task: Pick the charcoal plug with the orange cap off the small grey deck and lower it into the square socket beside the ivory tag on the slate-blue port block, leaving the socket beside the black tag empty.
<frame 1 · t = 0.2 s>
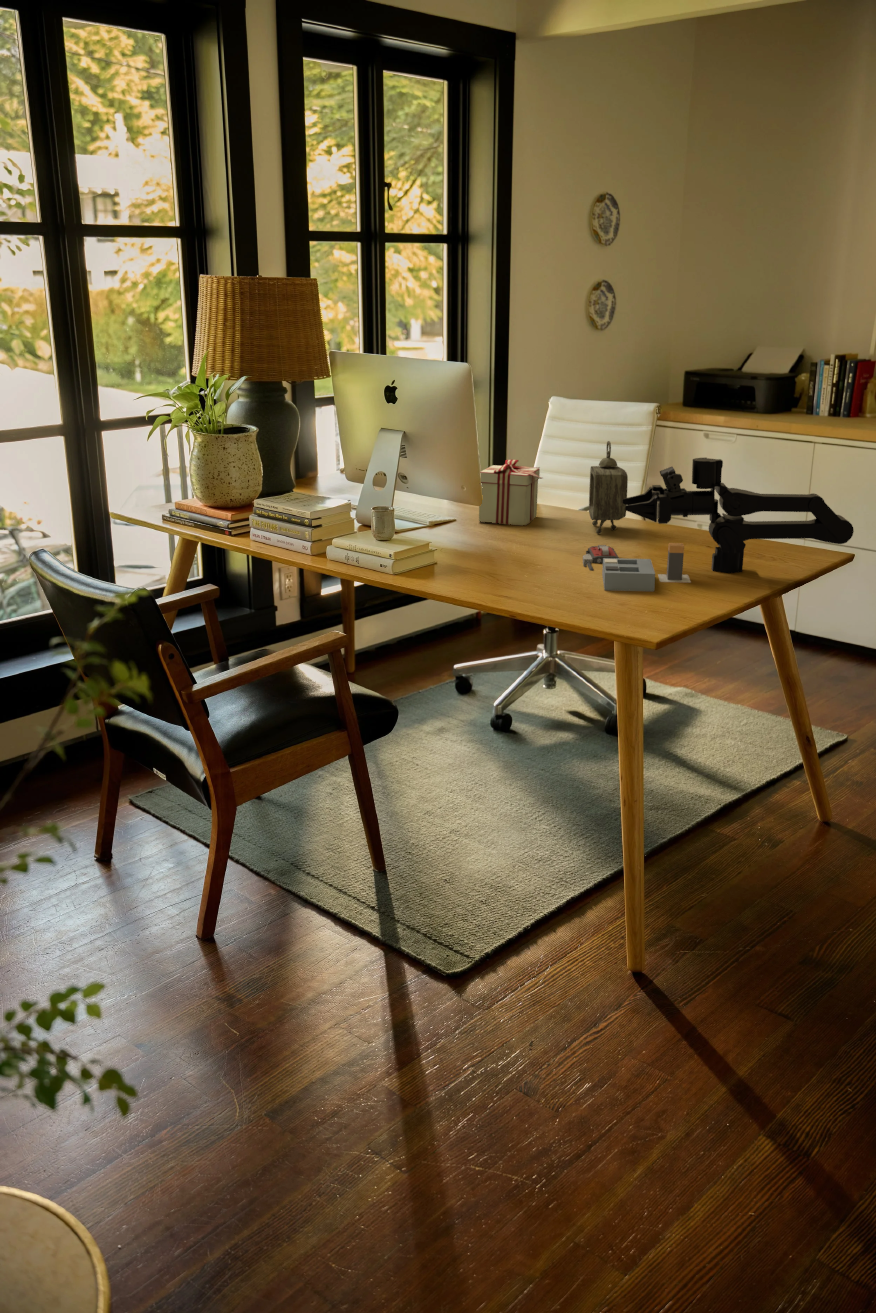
hand: (624, 504, 256), 16 cm above the table, tool horizontal, fingers open, 9 cm apart
plug: (674, 578, 252), point 1 cm above the table, touching deck
port block: (627, 586, 249), on the table
tabletop clock: (606, 531, 307), on the table
red grey elongated piece: (600, 567, 269), on the table
deck: (673, 582, 252), on the table
gift box: (513, 520, 322), on the table
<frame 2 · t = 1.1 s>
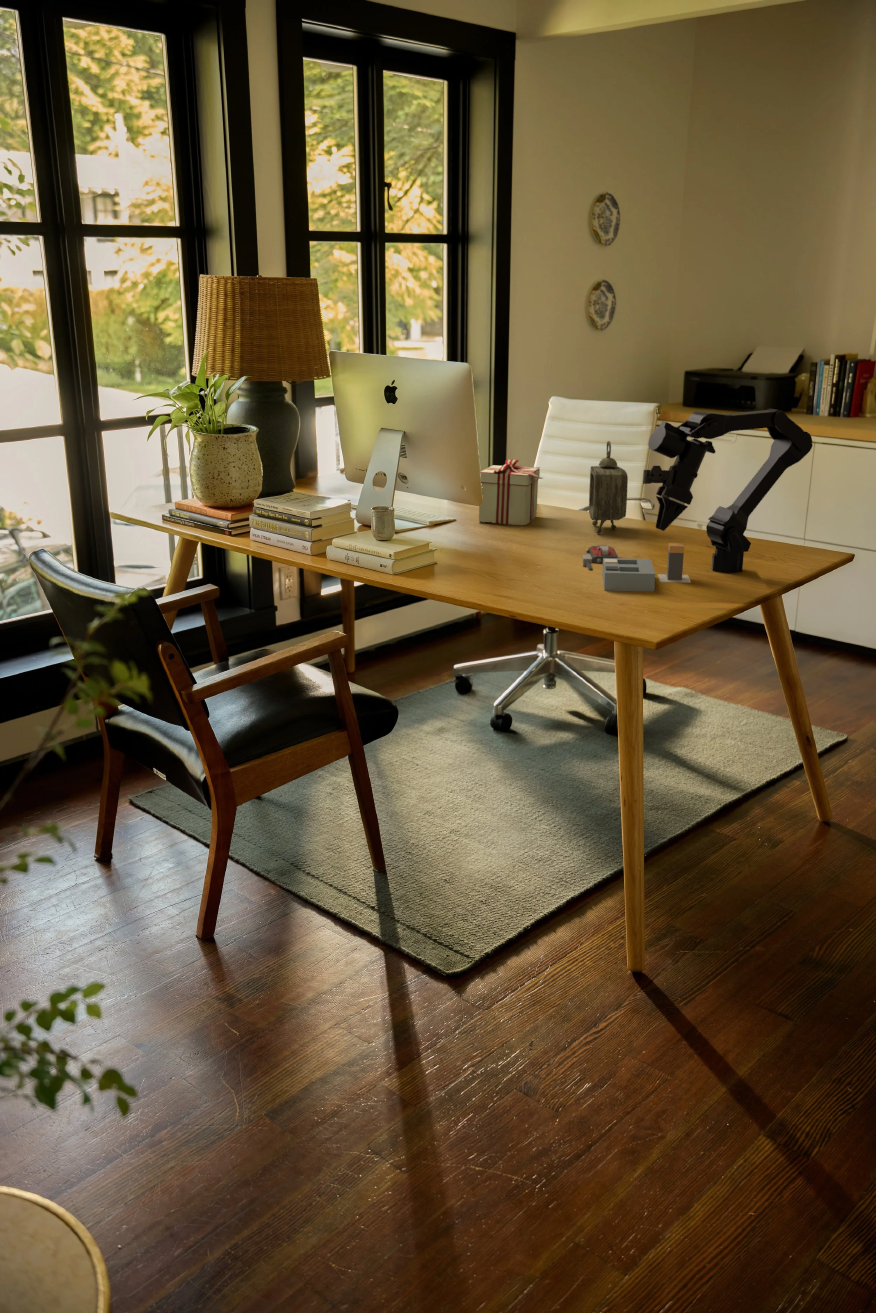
hand: (659, 529, 249), 12 cm above the table, tool tilted 25°, fingers open, 9 cm apart
nothing on the table moved.
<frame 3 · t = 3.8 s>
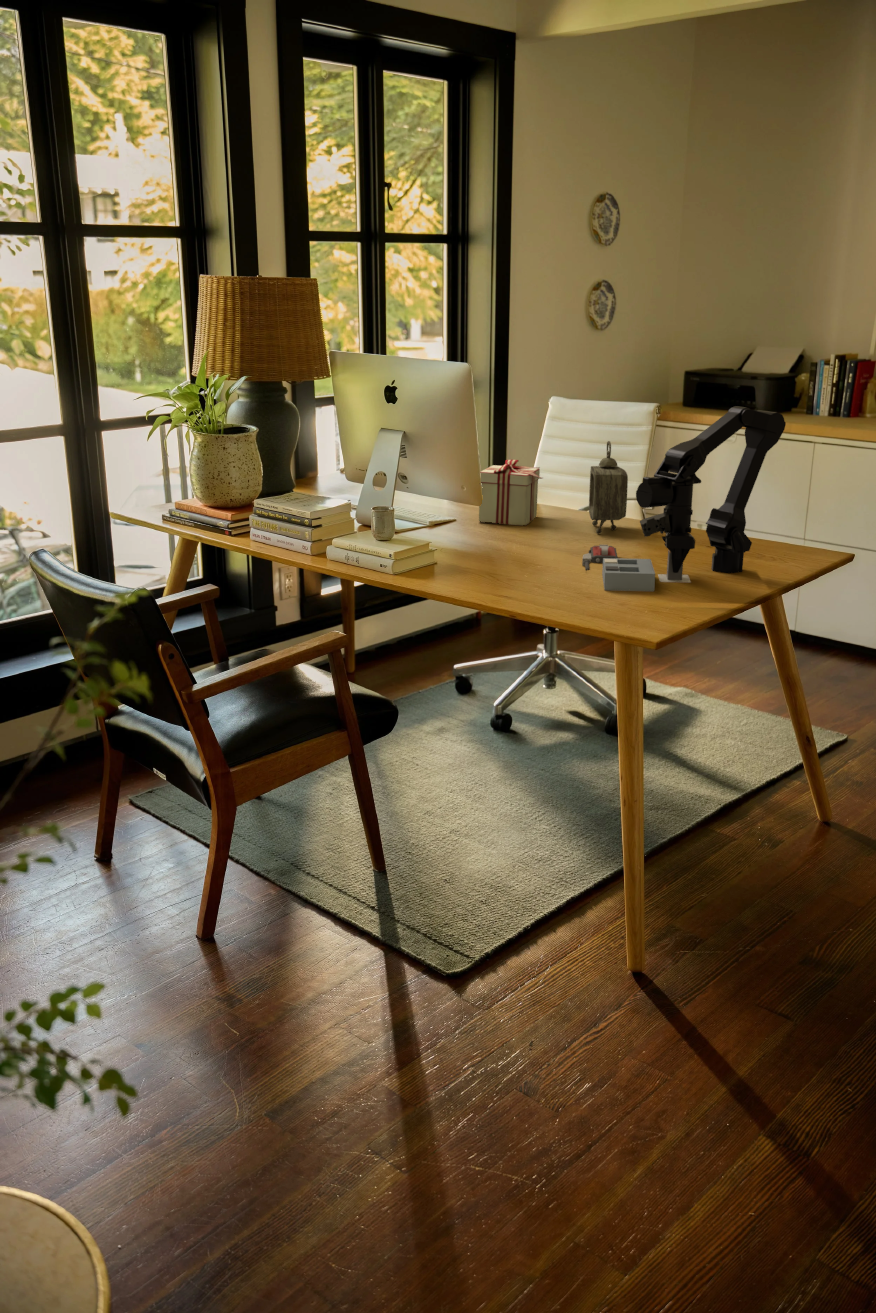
hand: (674, 570, 251), 3 cm above the table, tool pointing down, fingers closed on plug, 3 cm apart
plug: (674, 578, 252), point 1 cm above the table, touching deck, gripper
everything else where it was.
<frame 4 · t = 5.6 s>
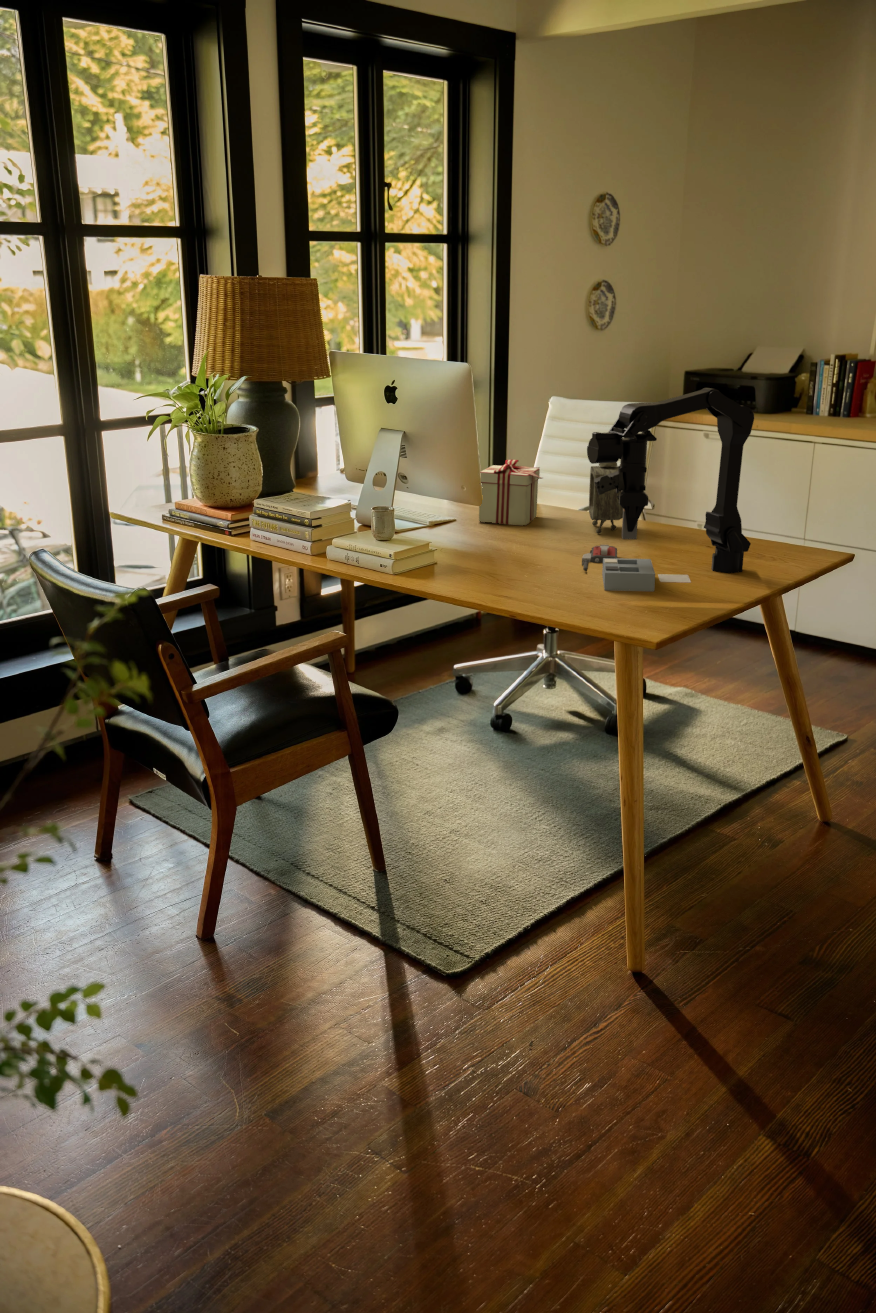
hand: (629, 530, 248), 13 cm above the table, tool pointing down, fingers closed on plug, 3 cm apart
plug: (629, 537, 248), point 11 cm above the table, touching gripper
everything else where it was.
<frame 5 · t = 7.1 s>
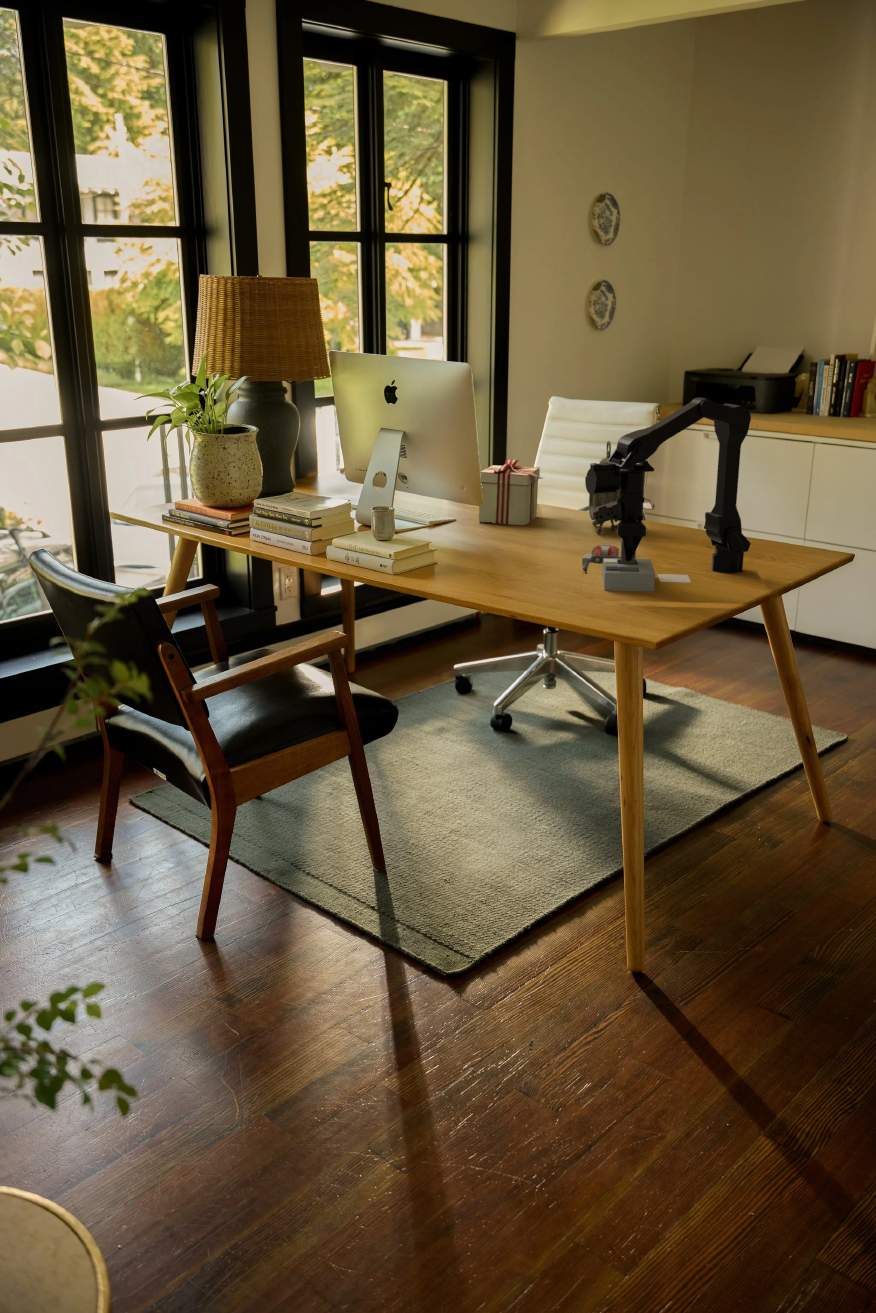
hand: (627, 558, 250), 6 cm above the table, tool pointing down, fingers closed on plug, 3 cm apart
plug: (627, 566, 251), point 4 cm above the table, touching gripper
when the fingers open (6 cm above the table, at t = 7.8 s): plug drops 3 cm, resting on port block.
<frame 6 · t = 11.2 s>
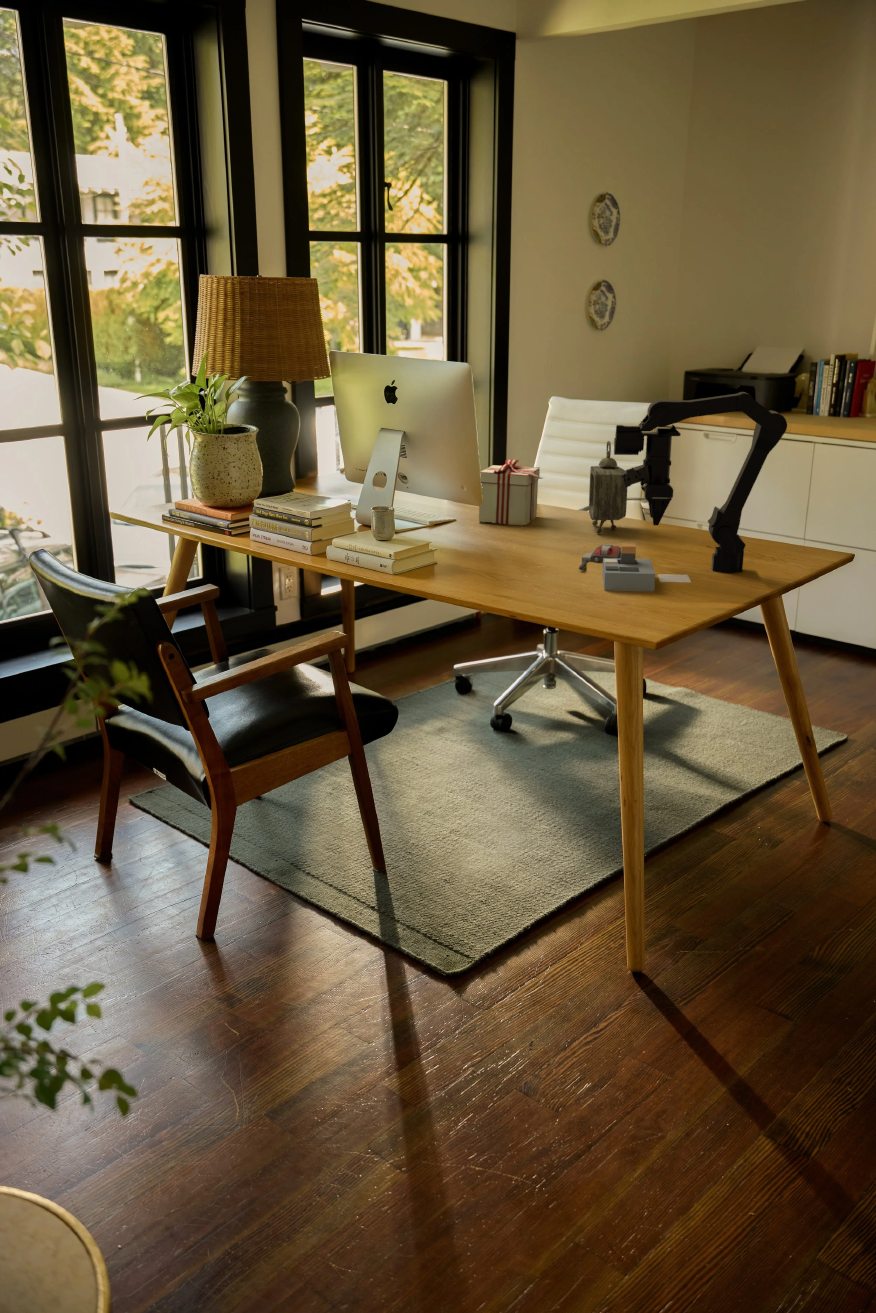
hand: (654, 521, 257), 13 cm above the table, tool pointing down, fingers open, 9 cm apart
plug: (626, 578, 252), point 1 cm above the table, touching port block
at the end: plug 0.0 cm from the target spot on the port block, point 1.0 cm above the port block's base; plug tilted 0°; the gripper is holding nothing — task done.
